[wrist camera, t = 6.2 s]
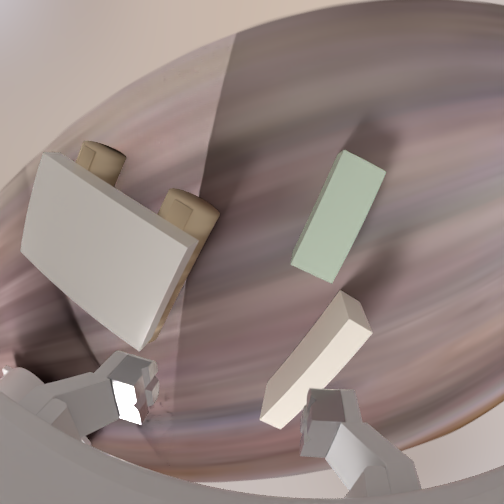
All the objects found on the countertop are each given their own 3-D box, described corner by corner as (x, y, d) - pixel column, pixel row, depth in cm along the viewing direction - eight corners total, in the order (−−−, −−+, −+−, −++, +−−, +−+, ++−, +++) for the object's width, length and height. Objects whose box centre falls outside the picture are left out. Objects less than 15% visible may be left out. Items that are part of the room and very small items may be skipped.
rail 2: (165, 328, 25) (145, 350, 22) (130, 304, 25) (107, 323, 22) (225, 212, 22) (209, 220, 18) (182, 187, 22) (158, 189, 18)
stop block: (285, 391, 25) (280, 429, 20) (267, 382, 25) (259, 419, 20) (359, 302, 22) (372, 332, 17) (340, 289, 22) (349, 318, 17)
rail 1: (92, 275, 26) (65, 289, 22) (66, 254, 26) (39, 265, 22) (134, 160, 22) (106, 158, 18) (103, 142, 22) (73, 139, 18)
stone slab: (151, 338, 21) (139, 351, 19) (35, 245, 21) (20, 251, 19) (199, 240, 19) (187, 247, 17) (60, 152, 19) (43, 152, 17)
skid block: (327, 268, 22) (331, 283, 19) (292, 251, 22) (290, 264, 19) (373, 172, 20) (386, 171, 16) (337, 154, 20) (344, 149, 16)
